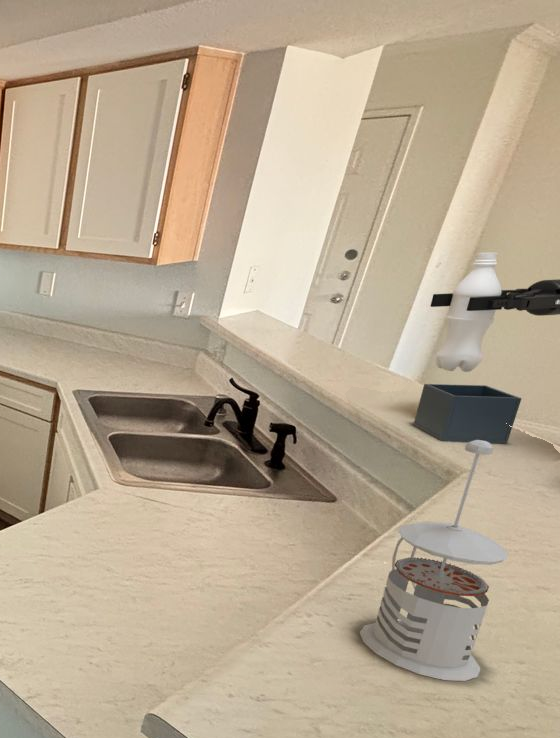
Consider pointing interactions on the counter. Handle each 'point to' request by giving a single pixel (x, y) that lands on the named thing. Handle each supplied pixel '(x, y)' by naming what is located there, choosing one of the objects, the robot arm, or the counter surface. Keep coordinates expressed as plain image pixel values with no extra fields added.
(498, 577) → the counter surface
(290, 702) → the counter surface
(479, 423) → the tub
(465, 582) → the french press
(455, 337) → the water bottle
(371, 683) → the counter surface
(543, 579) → the counter surface
